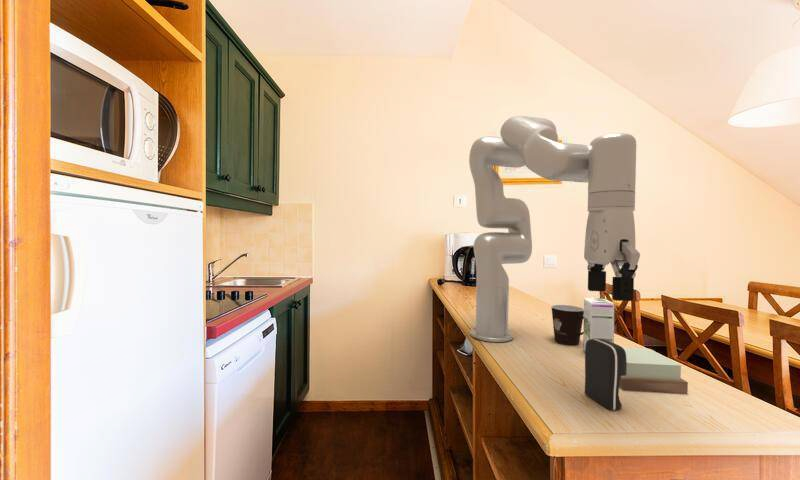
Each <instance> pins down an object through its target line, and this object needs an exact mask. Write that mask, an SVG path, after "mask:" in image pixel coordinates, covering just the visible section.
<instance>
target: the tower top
mask: <svg viewBox="0 0 800 480" xmlns="http://www.w3.org/2000/svg"><path fill="white" fill-rule="evenodd" d="M622 348H623V349H624V350H625V352H626V361H627V370H626V375H625V376H626V377H627V378H645V379H665V380H680V379H681V378H682V377H681V375H682V374H681V373H682V365H680V364H679V363H677V362H675V361H673V360H671V359H669V358H668V357H665V356H664V355H662V354H661V353H659V352H656V350H654V349H651V348H644V347H643V348H641V347H640V348H639V347H637V348H636V347H622Z"/></svg>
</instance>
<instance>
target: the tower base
mask: <svg viewBox="0 0 800 480" xmlns="http://www.w3.org/2000/svg"><path fill="white" fill-rule="evenodd" d="M688 383H689V382H688V381H686V380H684V379H683V378H682V377H681V379H680V380H665V379H645V378H627V377H626V376H621V379H620V381H619V389H621V390H622V391H625V392H628V391H629V392H642V393H643V392H645V393H657V394H658V393H659V394H660V393H661V394H676V395H677V394H678V395H688V387H689V384H688Z"/></svg>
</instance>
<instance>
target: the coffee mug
mask: <svg viewBox="0 0 800 480" xmlns="http://www.w3.org/2000/svg"><path fill="white" fill-rule="evenodd" d="M550 307H551V314H552V315H551V316H552V317H551V319H552V324H553V336H554V342H555V343H557V344H559V345H564V346H570V347H571V346H572V347H573V346H575V347H576V346H579V345H580V340H581V336H583V332H584V331H582V329H583V323H584V307H580V306H576V305H569V304H568V305H567V304H555V305H554V304H553V305H551V306H550Z"/></svg>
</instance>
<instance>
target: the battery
mask: <svg viewBox="0 0 800 480" xmlns="http://www.w3.org/2000/svg"><path fill="white" fill-rule="evenodd" d="M623 348H624V347H622V346H621V345H619V344H617V343H615V342H614V343H612V342H610V341H607V340H604V339H590V340H588V341H587V342H586V347H585V352H584V394H585V396H588V397H589V398H591V399H592V400H593V401H595V402H596V403H598V404H599V405H601V406H603V407H605V408H606V409H608V410H612V411H615V410H618V409H621V408H622V402H621V401H620V395H619V393H620V391H619V389H620V387H619V381H620V379H621V376H625V375H626V370H627V361H626V352H625V350H624V349H623Z"/></svg>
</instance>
